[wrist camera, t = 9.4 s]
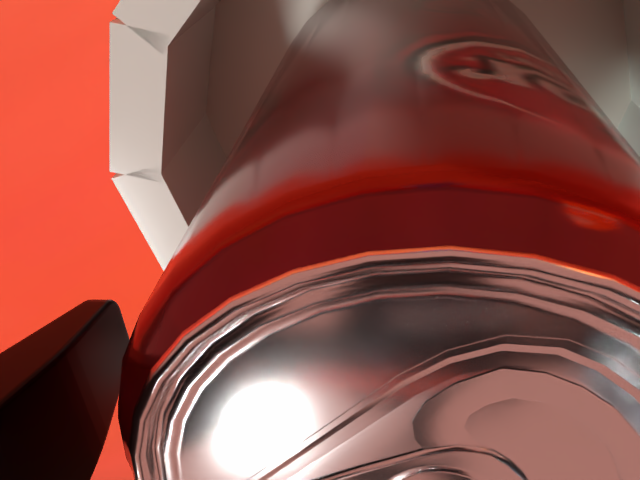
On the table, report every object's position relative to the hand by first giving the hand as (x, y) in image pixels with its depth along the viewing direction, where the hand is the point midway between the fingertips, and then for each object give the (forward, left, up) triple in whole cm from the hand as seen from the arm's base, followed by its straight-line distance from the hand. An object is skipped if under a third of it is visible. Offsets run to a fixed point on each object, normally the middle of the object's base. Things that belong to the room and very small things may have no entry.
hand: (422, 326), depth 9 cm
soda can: (0, 0, -10) cm, 10 cm away
